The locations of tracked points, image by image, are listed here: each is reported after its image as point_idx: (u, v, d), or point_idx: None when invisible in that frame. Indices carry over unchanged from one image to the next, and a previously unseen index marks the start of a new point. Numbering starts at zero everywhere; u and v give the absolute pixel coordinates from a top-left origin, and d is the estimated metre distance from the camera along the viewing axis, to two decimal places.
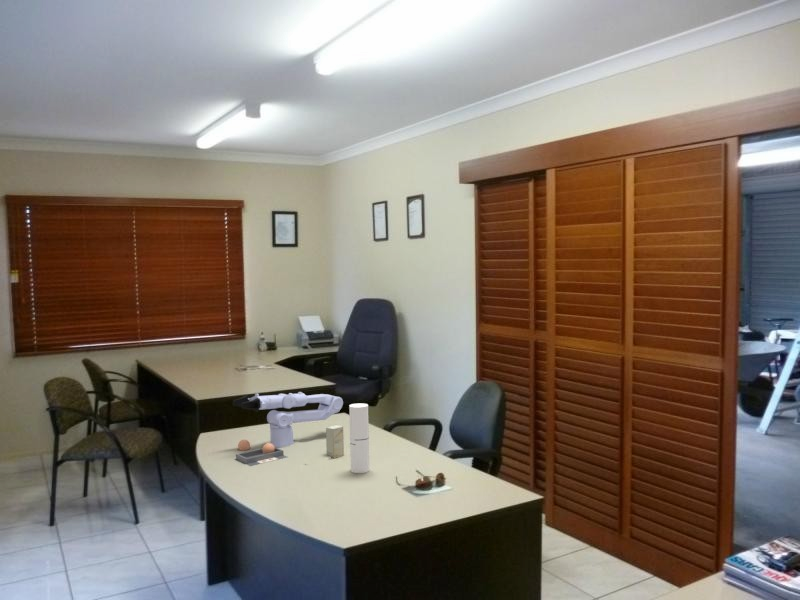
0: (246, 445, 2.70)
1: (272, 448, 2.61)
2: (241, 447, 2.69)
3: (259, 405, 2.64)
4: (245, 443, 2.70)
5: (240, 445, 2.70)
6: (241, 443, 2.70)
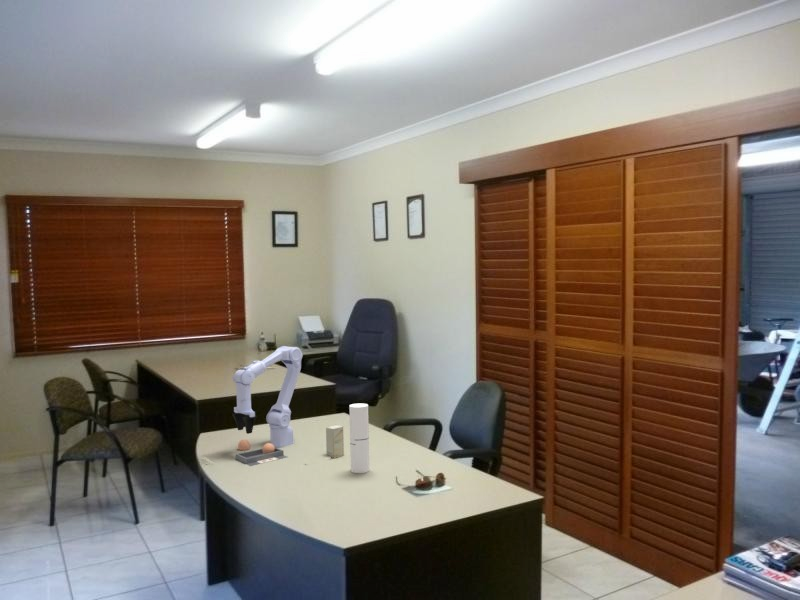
0: (246, 445, 2.70)
1: (272, 448, 2.61)
2: (241, 447, 2.69)
3: (251, 417, 2.59)
4: (245, 443, 2.70)
5: (240, 445, 2.70)
6: (241, 443, 2.70)
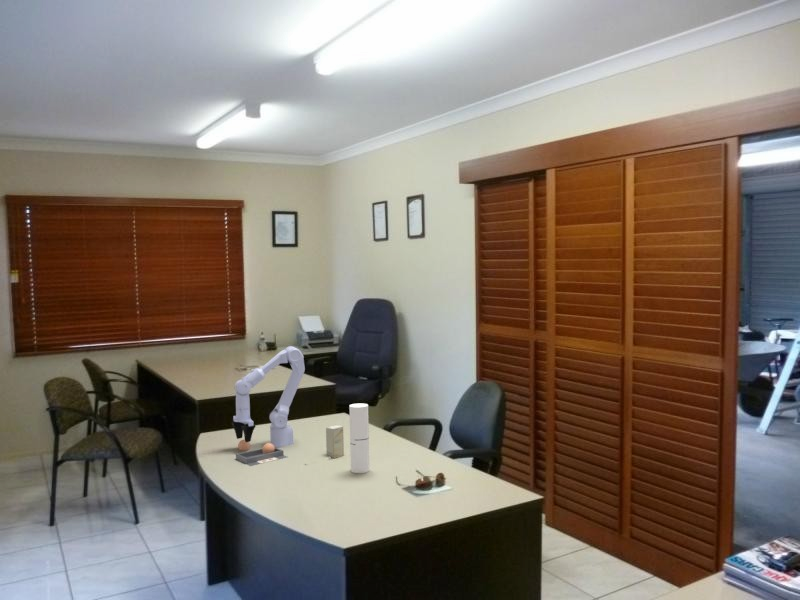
0: (246, 445, 2.70)
1: (272, 448, 2.61)
2: (241, 447, 2.69)
3: (250, 426, 2.67)
4: (245, 443, 2.70)
5: (240, 445, 2.70)
6: (241, 443, 2.70)
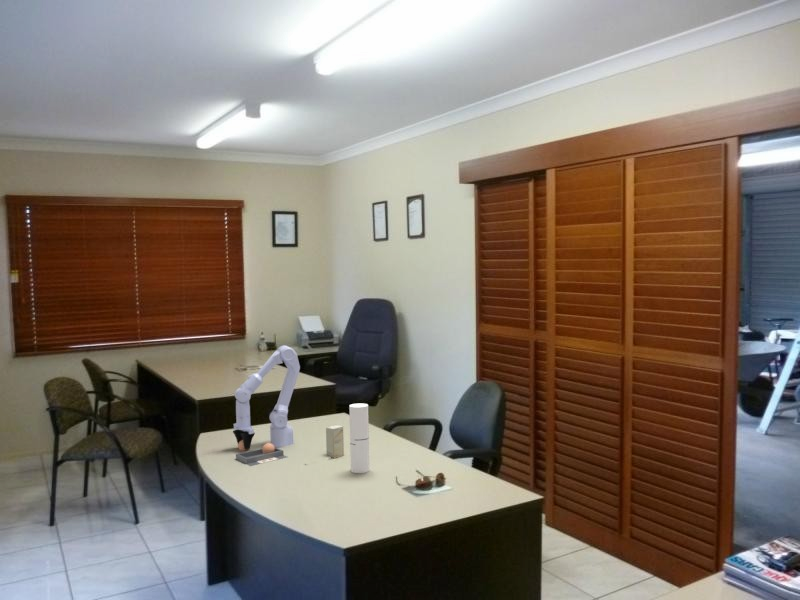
0: None
1: (272, 448, 2.61)
2: (241, 447, 2.69)
3: (249, 433, 2.68)
4: None
5: (240, 445, 2.70)
6: (241, 443, 2.70)
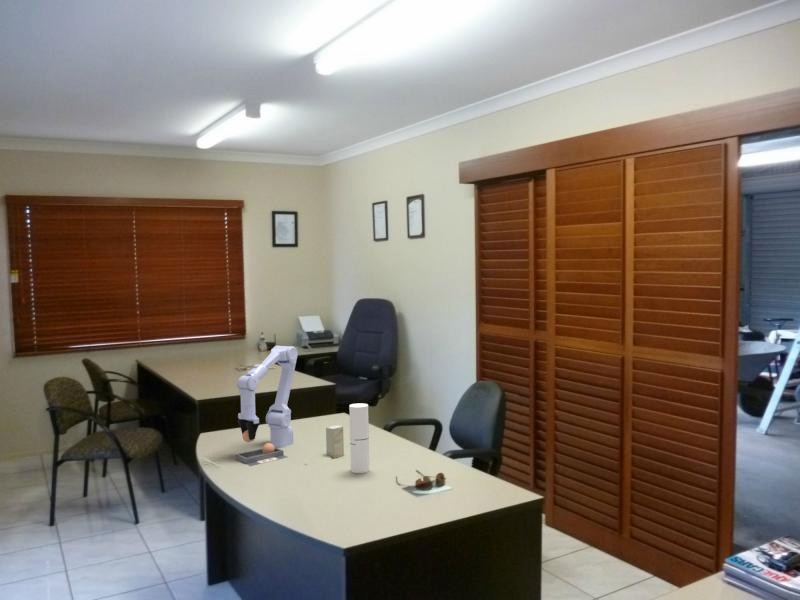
0: None
1: (272, 448, 2.61)
2: (246, 437, 2.59)
3: (254, 423, 2.57)
4: None
5: (245, 435, 2.59)
6: (246, 433, 2.59)
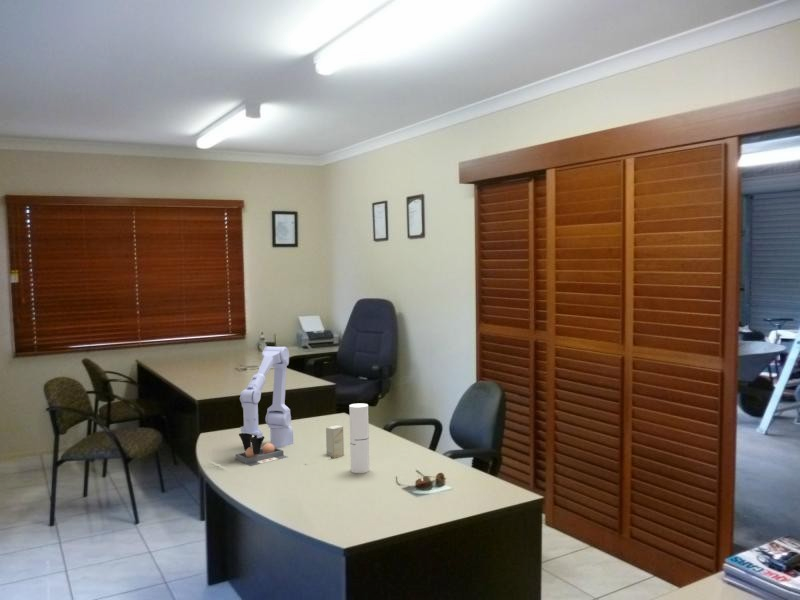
0: None
1: (272, 448, 2.61)
2: (249, 454, 2.55)
3: (258, 438, 2.52)
4: None
5: (248, 452, 2.55)
6: (249, 450, 2.55)
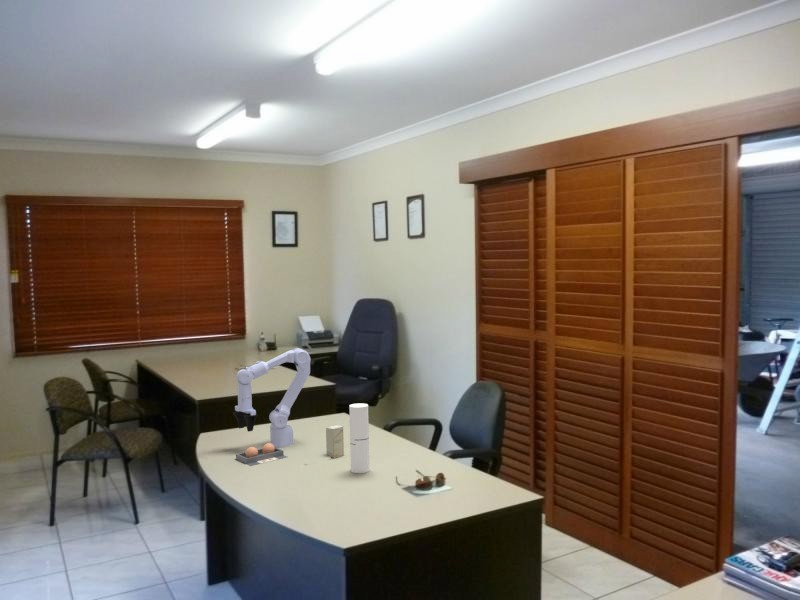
0: (253, 452, 2.55)
1: (272, 448, 2.61)
2: (249, 455, 2.55)
3: (252, 415, 2.67)
4: (253, 450, 2.55)
5: (247, 452, 2.55)
6: (248, 450, 2.55)
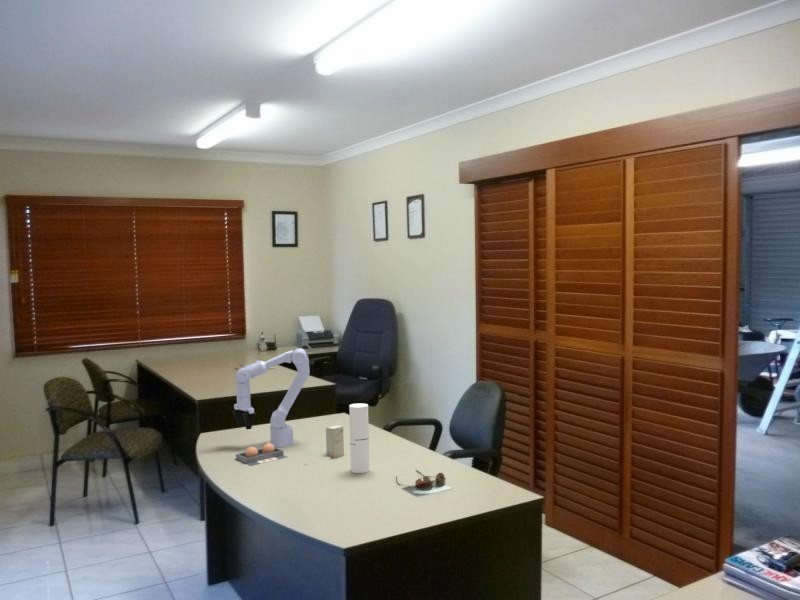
0: (253, 452, 2.55)
1: (272, 448, 2.61)
2: (248, 455, 2.55)
3: (250, 413, 2.70)
4: (252, 450, 2.55)
5: (247, 453, 2.55)
6: (248, 450, 2.55)
